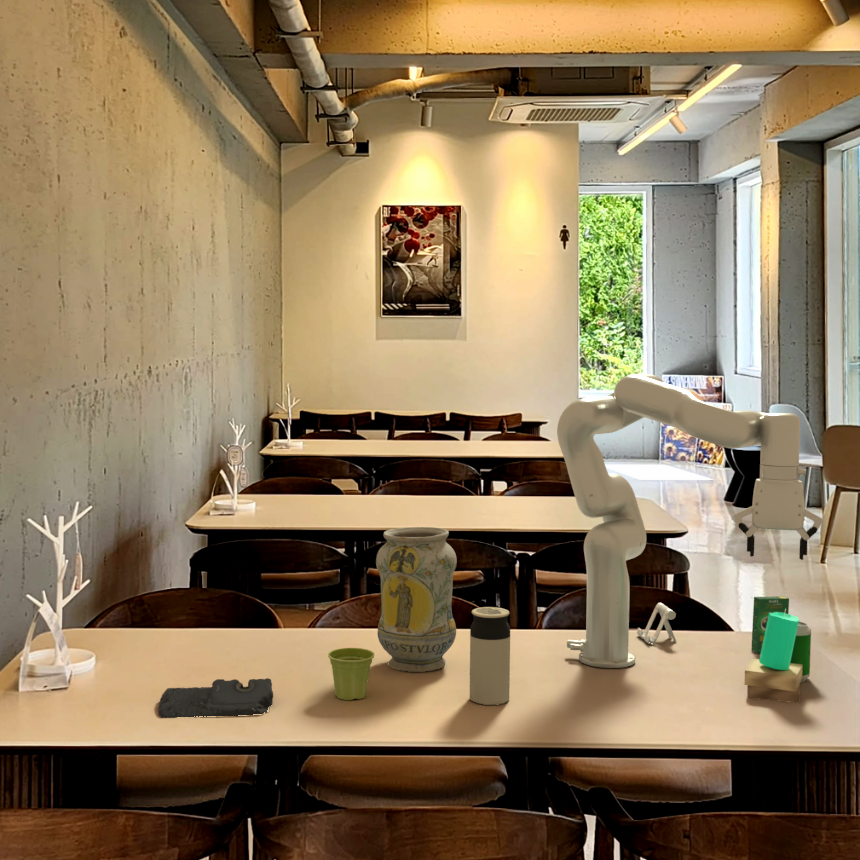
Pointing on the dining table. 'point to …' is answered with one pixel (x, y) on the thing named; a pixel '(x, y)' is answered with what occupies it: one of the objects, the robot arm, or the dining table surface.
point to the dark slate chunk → (218, 699)
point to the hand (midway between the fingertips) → (776, 557)
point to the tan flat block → (773, 694)
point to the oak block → (773, 676)
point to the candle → (779, 640)
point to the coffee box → (765, 617)
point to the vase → (416, 597)
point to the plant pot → (350, 672)
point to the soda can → (802, 649)
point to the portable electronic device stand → (665, 615)
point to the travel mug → (490, 656)
